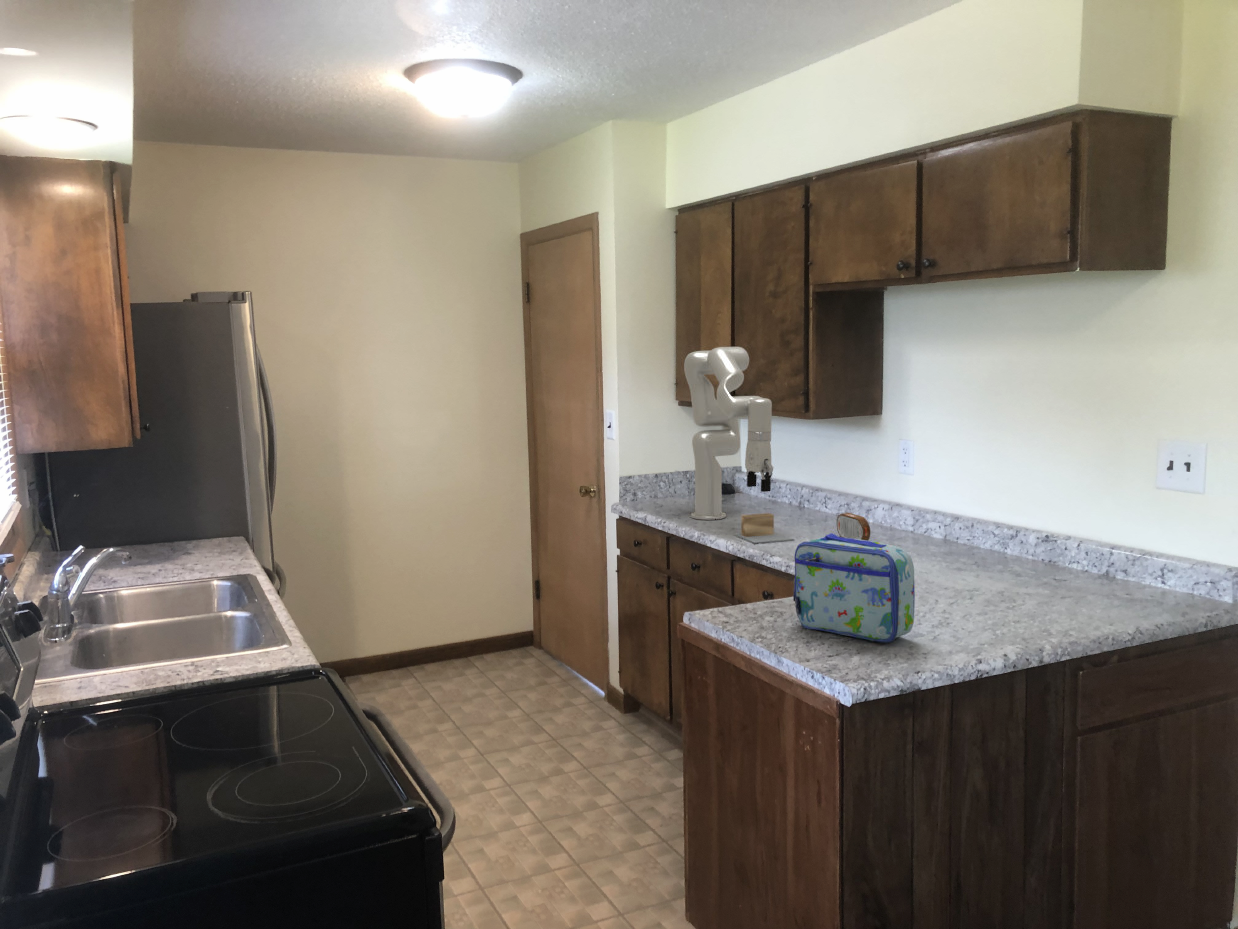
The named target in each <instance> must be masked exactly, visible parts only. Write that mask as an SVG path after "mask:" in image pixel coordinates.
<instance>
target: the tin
mask: <svg viewBox="0 0 1238 929" xmlns="http://www.w3.org/2000/svg"><path fill="white" fill-rule="evenodd" d="M836 530H837V533H838V536H839V537H842V538H851V539H859V540H866V541H870V537H871V527H870V524H869V521H868V520H867V519H866V518H865V517H864V516H863V515H862V516H861V515H858V514H854V513H852V512H843V513H840V514H838V516H837V517H836Z"/></svg>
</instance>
